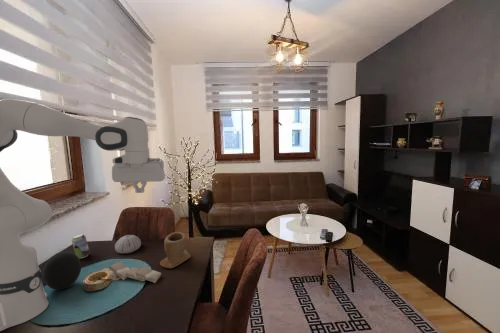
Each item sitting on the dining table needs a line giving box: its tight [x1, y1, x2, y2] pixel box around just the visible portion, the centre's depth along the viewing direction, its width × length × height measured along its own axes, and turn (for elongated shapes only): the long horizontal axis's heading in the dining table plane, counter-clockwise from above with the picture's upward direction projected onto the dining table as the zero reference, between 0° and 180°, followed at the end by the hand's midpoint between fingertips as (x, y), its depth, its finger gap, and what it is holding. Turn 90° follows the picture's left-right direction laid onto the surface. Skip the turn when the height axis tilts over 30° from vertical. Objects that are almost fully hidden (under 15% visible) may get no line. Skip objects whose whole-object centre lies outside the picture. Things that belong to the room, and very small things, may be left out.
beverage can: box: [71, 233, 91, 260], centre depth 126 cm, size 6×7×12 cm
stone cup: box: [159, 231, 192, 269], centre depth 119 cm, size 15×12×15 cm
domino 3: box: [125, 266, 146, 282], centre depth 106 cm, size 2×5×9 cm
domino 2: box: [108, 260, 131, 281], centre depth 108 cm, size 2×5×9 cm
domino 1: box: [100, 267, 118, 279], centre depth 108 cm, size 2×5×9 cm
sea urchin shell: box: [114, 234, 142, 255], centre depth 135 cm, size 13×14×8 cm
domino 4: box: [136, 266, 162, 284], centre depth 105 cm, size 2×5×9 cm
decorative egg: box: [42, 250, 82, 291], centre depth 100 cm, size 12×12×15 cm
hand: (140, 192), depth 98 cm, fingers closed
